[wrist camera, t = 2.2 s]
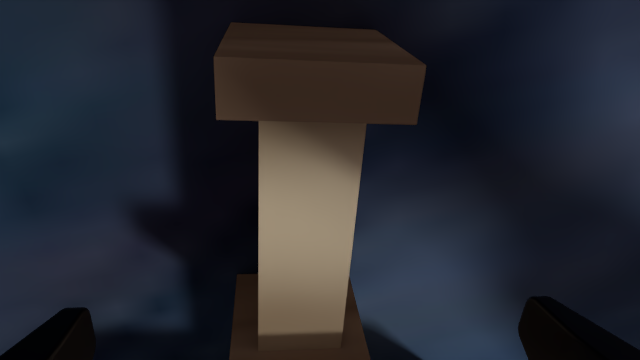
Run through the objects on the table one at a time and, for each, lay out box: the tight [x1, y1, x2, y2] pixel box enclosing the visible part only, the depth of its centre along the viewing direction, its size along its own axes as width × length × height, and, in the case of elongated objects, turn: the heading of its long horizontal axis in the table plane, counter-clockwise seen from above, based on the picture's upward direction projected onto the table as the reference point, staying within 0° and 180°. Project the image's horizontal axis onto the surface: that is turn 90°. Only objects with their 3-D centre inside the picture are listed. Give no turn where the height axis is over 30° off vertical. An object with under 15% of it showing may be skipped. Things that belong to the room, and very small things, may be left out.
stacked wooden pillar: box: [214, 22, 427, 360], centre depth 14 cm, size 15×12×4 cm
